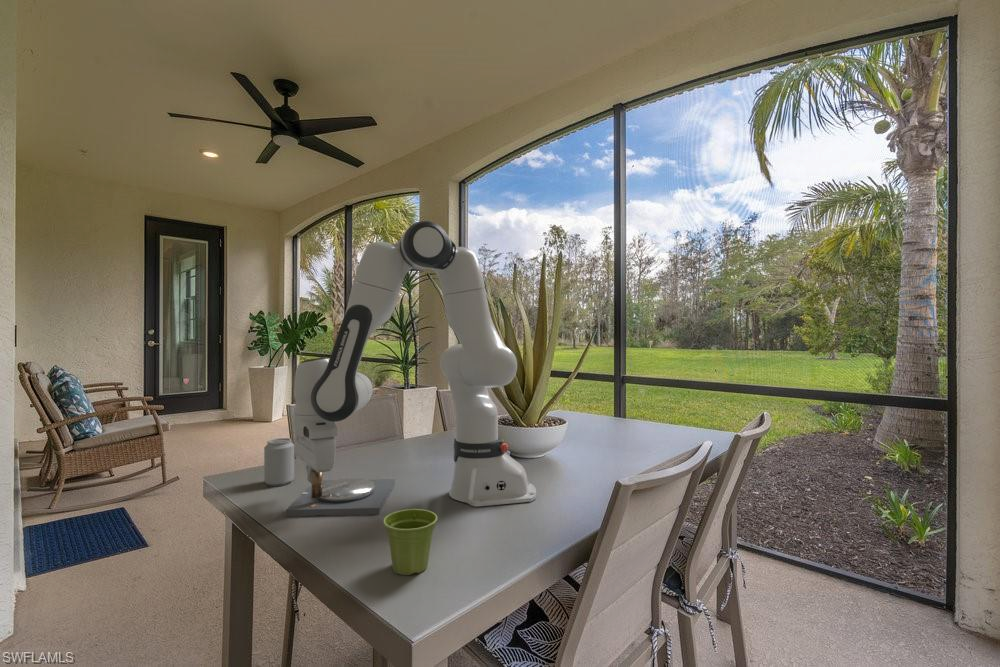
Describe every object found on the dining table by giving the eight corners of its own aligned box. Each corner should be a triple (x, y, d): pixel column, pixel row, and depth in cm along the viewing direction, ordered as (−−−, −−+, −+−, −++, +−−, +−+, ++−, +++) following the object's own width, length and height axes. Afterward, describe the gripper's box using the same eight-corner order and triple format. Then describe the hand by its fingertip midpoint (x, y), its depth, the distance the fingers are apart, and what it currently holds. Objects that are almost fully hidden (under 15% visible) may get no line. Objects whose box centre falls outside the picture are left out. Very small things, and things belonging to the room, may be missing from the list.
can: (282, 488, 124) (282, 443, 124) (258, 486, 126) (258, 442, 126) (299, 479, 131) (299, 437, 131) (276, 477, 133) (276, 436, 133)
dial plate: (394, 484, 127) (394, 478, 127) (379, 514, 106) (379, 507, 106) (316, 486, 126) (316, 479, 126) (285, 516, 105) (285, 508, 105)
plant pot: (400, 551, 88) (400, 506, 88) (445, 558, 85) (445, 511, 85) (372, 576, 79) (372, 525, 79) (422, 584, 76) (422, 532, 76)
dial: (351, 479, 125) (351, 453, 125) (385, 489, 117) (385, 461, 117) (295, 496, 112) (295, 467, 112) (330, 509, 104) (330, 477, 104)
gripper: (288, 419, 117) (286, 473, 117) (312, 433, 101) (311, 496, 101) (313, 416, 121) (312, 469, 121) (340, 430, 105) (339, 490, 105)
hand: (312, 481), depth 111 cm, fingers closed
